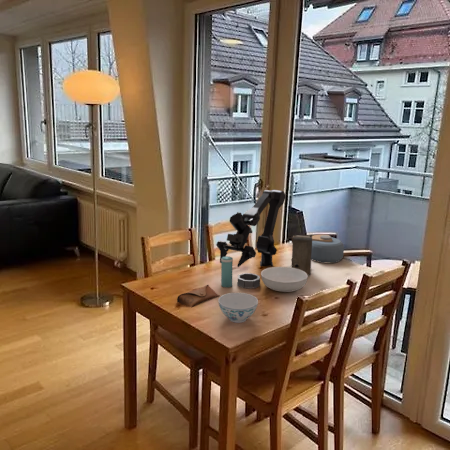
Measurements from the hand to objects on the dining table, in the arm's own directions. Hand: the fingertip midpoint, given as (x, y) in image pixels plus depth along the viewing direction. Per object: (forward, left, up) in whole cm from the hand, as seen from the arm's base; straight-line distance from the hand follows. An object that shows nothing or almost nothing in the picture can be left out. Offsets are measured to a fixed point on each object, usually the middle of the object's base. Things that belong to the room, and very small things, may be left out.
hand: (229, 264), depth 205 cm
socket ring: (0, +9, -9) cm, 13 cm away
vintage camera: (-20, +35, -10) cm, 42 cm away
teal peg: (+2, -1, -9) cm, 10 cm away
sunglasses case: (+17, -12, -10) cm, 24 cm away
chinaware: (+36, +4, -10) cm, 37 cm away
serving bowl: (+3, +25, -10) cm, 27 cm away
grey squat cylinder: (-42, +52, -10) cm, 67 cm away
